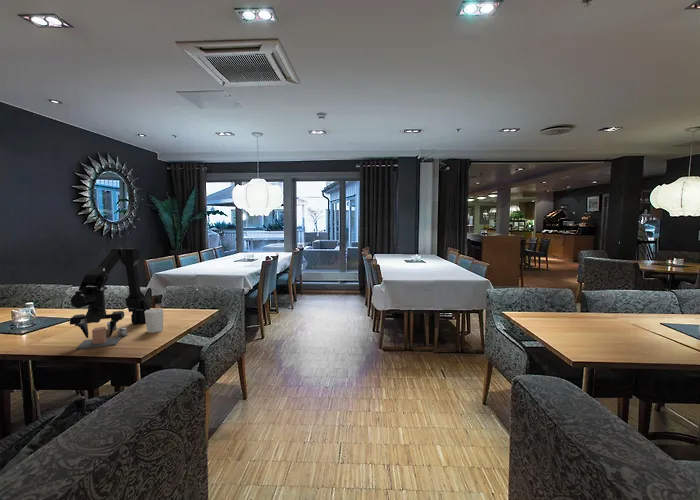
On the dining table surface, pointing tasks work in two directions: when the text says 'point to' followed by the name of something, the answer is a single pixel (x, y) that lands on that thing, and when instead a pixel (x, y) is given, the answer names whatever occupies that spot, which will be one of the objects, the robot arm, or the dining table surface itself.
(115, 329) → the slate block
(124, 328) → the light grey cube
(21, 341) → the dining table surface
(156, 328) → the white cup
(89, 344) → the charcoal mat
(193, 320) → the dining table surface
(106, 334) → the walnut block
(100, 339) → the terracotta block
